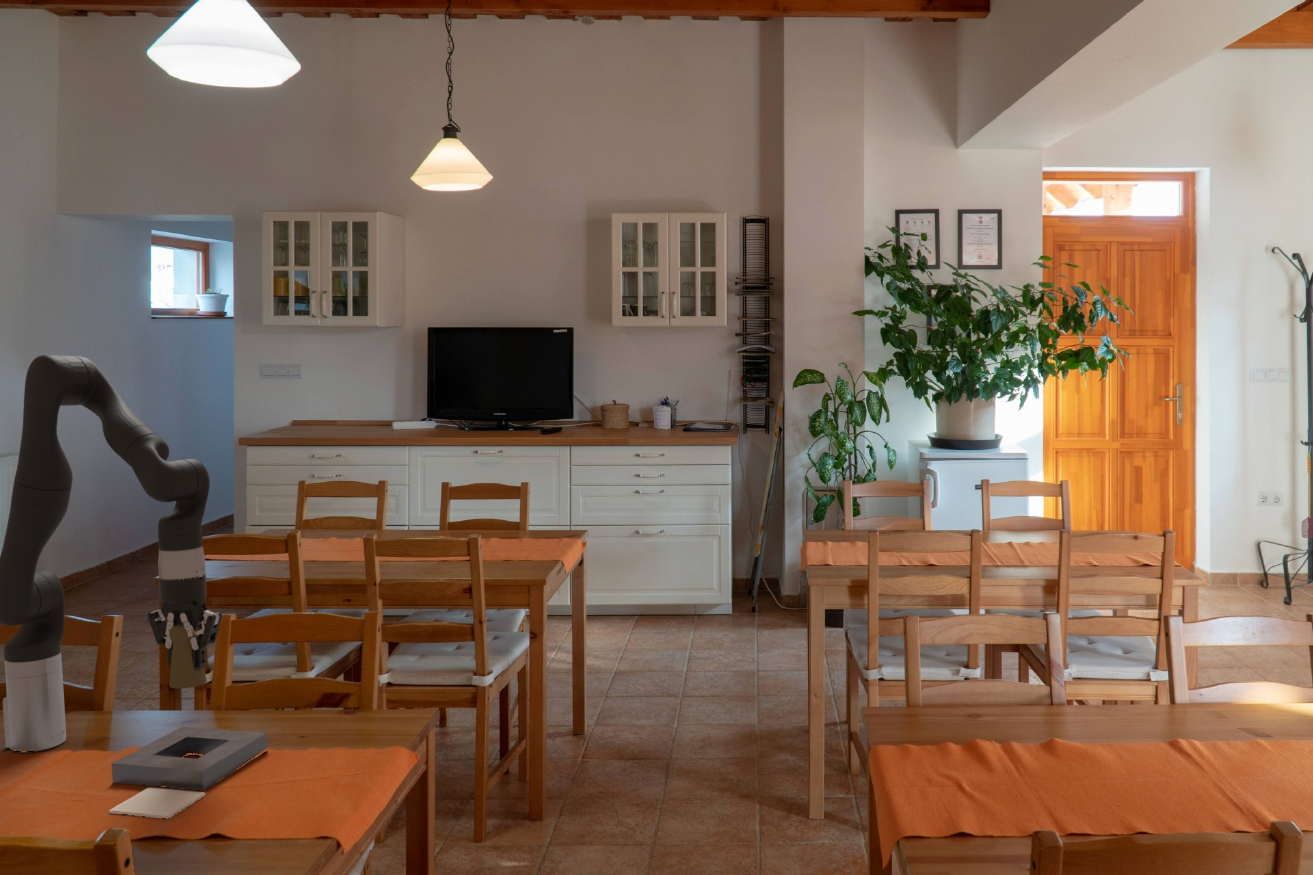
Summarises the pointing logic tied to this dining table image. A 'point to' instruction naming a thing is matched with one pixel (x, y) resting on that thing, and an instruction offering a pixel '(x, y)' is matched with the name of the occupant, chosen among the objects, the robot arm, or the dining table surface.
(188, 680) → the cork
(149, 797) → the pad
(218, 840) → the dining table surface
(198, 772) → the frame
